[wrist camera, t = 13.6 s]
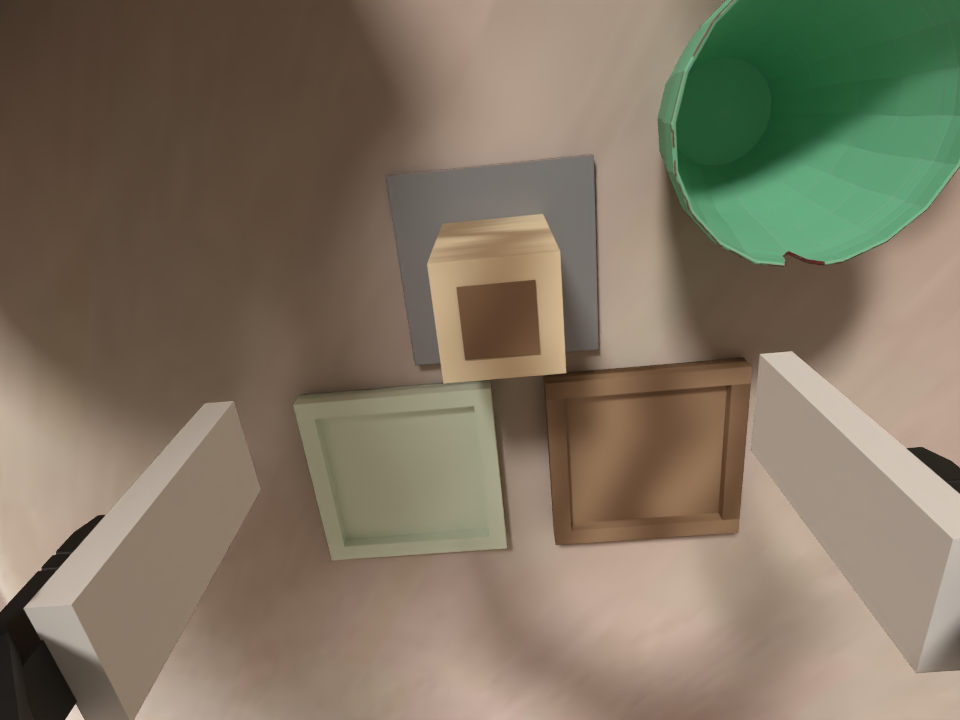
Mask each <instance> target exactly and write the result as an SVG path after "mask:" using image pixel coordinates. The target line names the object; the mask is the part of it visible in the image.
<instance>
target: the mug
mask: <svg viewBox="0 0 960 720" xmlns="http://www.w3.org/2000/svg"><path fill="white" fill-rule="evenodd" d="M658 133H659V149H660V153H661V156H662V158H663V161H664V163H665V167H666V170H667V172H668V175H669V177H670V180H671V182H672V185H673V187H674V190H675V192H676V195H677V197H678V200H679V202H680V205H681V207H682V209H683V210H684V211H685V212H686V213H687V214H688V215H689V216H690V218H691V219H692V220H693V221H694V222H695V223H696V224H697V225H698V226H699V228H700V229H701V230H702V231H703V232H704V233H705V234H706V235H707V236H708V238H709V239H710V240H711V241H712V242H714V243H715V244H717V245H719V246H721V247H722V248H724V249H726V250H728V251H730V252H732V253H734V254H736V255H738V256H740V257H742V258H744V259H746V260H748V261H750V262H751V263H753V264H758V265H768V266H778V267H783V266H785V265H786V260H785V258H784V256H785V255H787V254H788V255H790V256H792V257H794V258H797V259H799V260H801V261H803V262H806V263H811V264H817V265H830V264H837V263H842V262H845V261H847V260H849V259H851V258H853V257H855V256H858V255H860V254H862V253H864V252H866V251H868V250H871V249H873V248H875V247H877V246H879V245H881V244H884V243H886V242H887V241H889V240H890V239H891V238H892V237H894V236H895V235H896V234H897V233H899V232H900V231H901V230H902V229H904V228H905V227H906V226H907V225H909V224H910V223H911V222H912V221H913V220H915V219H916V218H917V217H918V216H920V215H921V214H922V213H923V212H925V211H926V210H927V209H928V208H929V207H930V205H931V204H932V203H933V201H934V200H935V199H936V197H937V196H938V195H939V193H940V192H941V191H942V190H943V188H944V187H945V186H946V184H947V183H948V182H949V180H950V179H951V178H952V176H953V175H954V174H955V173H956V171H957V170H958V169H959V167H960V0H726V1H725V2H724V3H723V4H722V5H721V6H720V7H719V8H718V9H717V10H716V11H715V12H714V13H713V14H712V15H711V16H710V17H709V18H708V19H707V20H706V21H705V22H704V23H703V24H702V26H701V27H700V29H699V30H698V31H697V32H696V33H695V35H694V36H693V37H692V38H691V39H690V41H689V43H688V45H687V46H686V48H685V50H684V52H683V54H682V55H681V57H680V59H679V61H678V63H677V65H676V66H675V68H674V70H673V72H672V74H671V75H670V77H669V79H668V81H667V83H666V85H665V89H664V93H663V98H662V102H661V106H660V110H659V115H658Z"/></svg>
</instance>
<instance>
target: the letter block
mask: <svg viewBox="0 0 960 720" xmlns="http://www.w3.org/2000/svg"><path fill="white" fill-rule="evenodd" d="M427 267H428V275H429V282H430V289H431V296H432V304H433V311H434V318H435V326H436V333H437V340H438V347H439V355H440V362H441V369H442V377H443V384H444V383H456V382H467V381H479V380H491V379H503V378H515V377H527V376H539V375H550V374H562V373H566V359H565V338H564V318H563V297H562V277H561V256H560V250H559V247H558V245H557V243H556V241H555V239H554V237H553V234H552V232H551V230H550V228H549V226H548V224H547V221H546V219H545V217H544V215H543V214H537V215H527V216H517V217H507V218H497V219H487V220H476V221H466V222H456V223H446V224H442V226H441V229H440V232H439V234H438V237H437V239H436V242H435V244H434V247H433V250H432V252H431V255H430V257H429V260H428V263H427Z"/></svg>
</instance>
